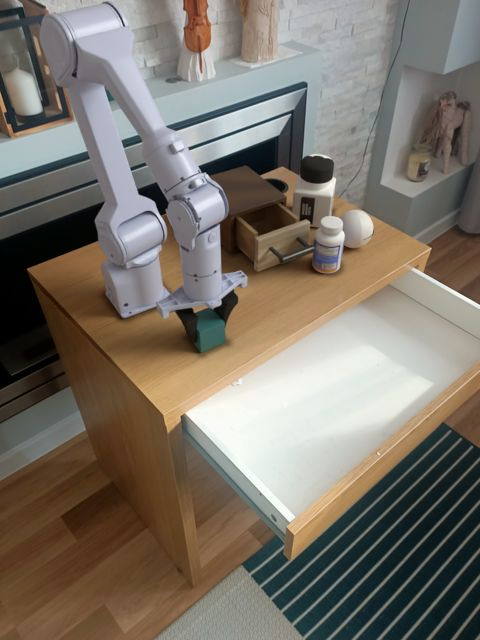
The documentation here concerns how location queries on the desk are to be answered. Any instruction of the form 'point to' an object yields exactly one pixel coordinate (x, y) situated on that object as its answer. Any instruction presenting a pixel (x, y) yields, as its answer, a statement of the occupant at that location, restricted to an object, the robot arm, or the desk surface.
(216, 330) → the block
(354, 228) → the white ball
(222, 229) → the cabinet
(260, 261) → the drawer
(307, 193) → the container
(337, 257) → the pill bottle
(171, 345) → the desk surface
